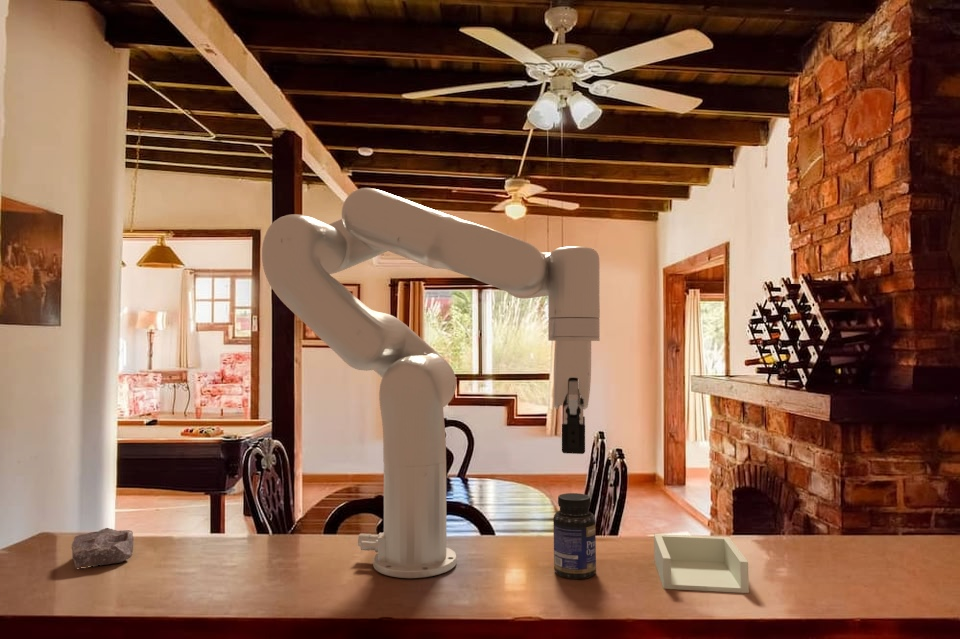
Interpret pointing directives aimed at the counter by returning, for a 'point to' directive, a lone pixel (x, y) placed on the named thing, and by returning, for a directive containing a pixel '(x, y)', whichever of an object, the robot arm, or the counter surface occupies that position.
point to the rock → (102, 547)
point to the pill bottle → (574, 537)
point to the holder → (700, 563)
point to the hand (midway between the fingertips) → (573, 447)
